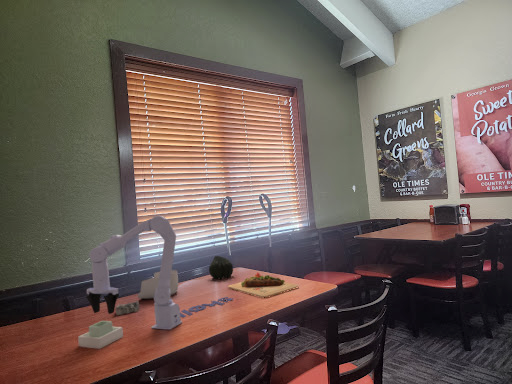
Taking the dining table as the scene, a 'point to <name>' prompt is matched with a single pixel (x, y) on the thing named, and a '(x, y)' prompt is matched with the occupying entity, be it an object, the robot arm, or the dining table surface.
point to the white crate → (100, 339)
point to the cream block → (151, 285)
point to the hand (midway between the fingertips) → (104, 312)
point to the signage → (203, 306)
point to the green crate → (100, 329)
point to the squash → (220, 268)
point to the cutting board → (263, 286)
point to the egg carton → (127, 308)
